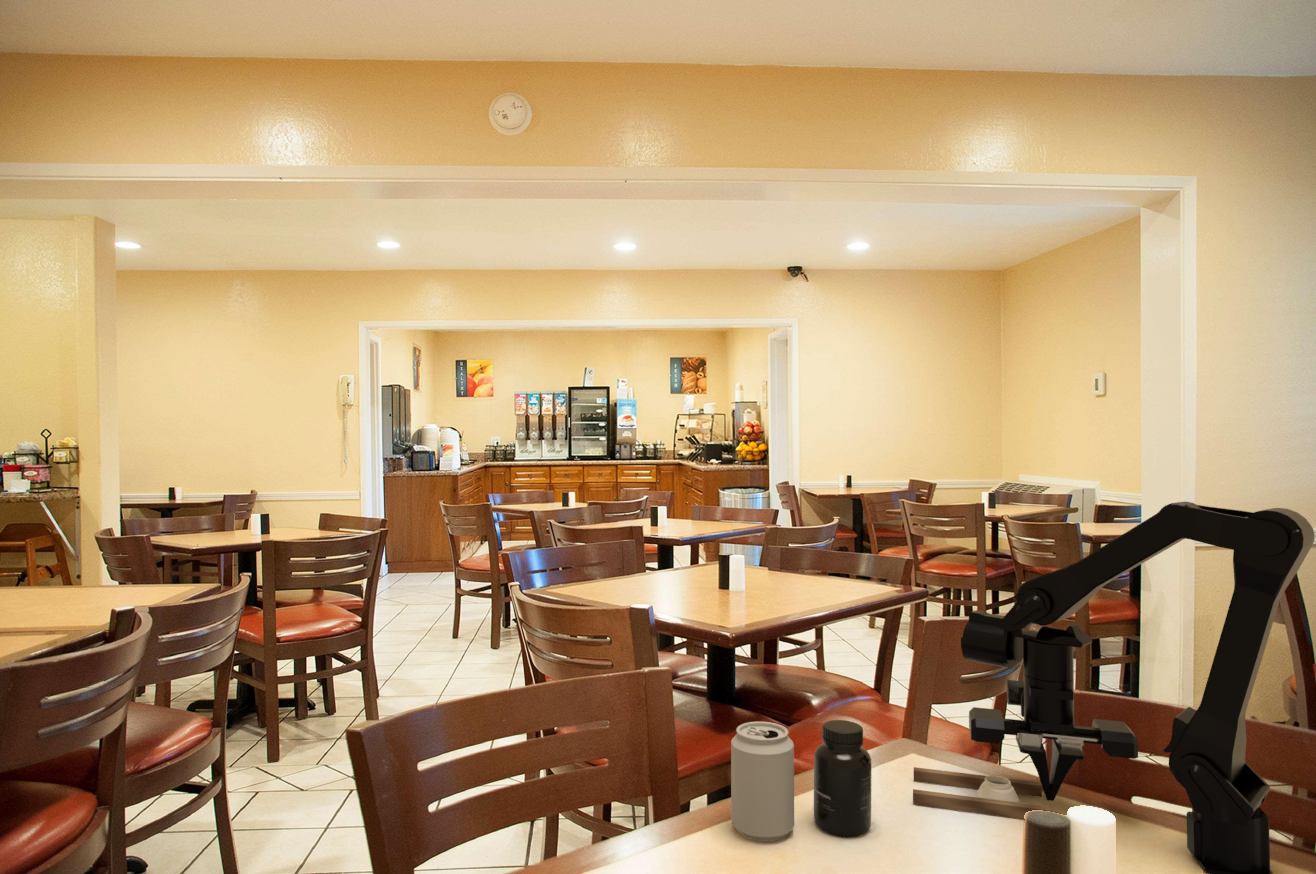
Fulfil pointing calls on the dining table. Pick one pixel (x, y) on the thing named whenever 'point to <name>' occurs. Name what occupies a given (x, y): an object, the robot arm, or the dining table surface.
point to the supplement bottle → (842, 781)
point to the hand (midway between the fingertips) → (1049, 799)
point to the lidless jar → (997, 789)
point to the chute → (973, 803)
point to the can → (762, 781)
